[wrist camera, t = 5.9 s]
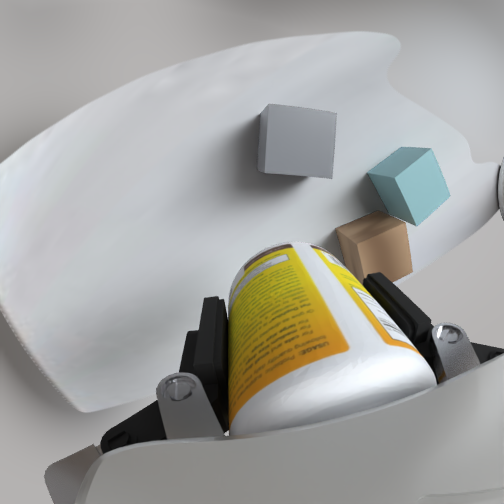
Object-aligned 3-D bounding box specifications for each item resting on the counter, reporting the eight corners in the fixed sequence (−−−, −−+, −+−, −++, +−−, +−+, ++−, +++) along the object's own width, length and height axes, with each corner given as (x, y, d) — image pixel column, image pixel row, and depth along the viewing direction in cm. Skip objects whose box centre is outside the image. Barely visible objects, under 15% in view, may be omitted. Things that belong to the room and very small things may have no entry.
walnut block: (378, 210, 26) (405, 222, 21) (387, 253, 28) (412, 271, 23) (334, 228, 26) (356, 244, 22) (347, 272, 28) (367, 294, 23)
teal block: (400, 146, 24) (431, 148, 19) (420, 187, 26) (450, 195, 21) (366, 172, 25) (394, 178, 20) (388, 213, 26) (416, 226, 22)
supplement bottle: (222, 338, 14) (219, 548, 4) (237, 229, 12) (256, 486, 2) (327, 345, 14) (400, 519, 5) (359, 246, 12) (523, 407, 3)
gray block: (316, 119, 23) (336, 113, 18) (312, 173, 25) (331, 178, 20) (260, 113, 22) (268, 103, 18) (256, 169, 24) (264, 173, 19)
